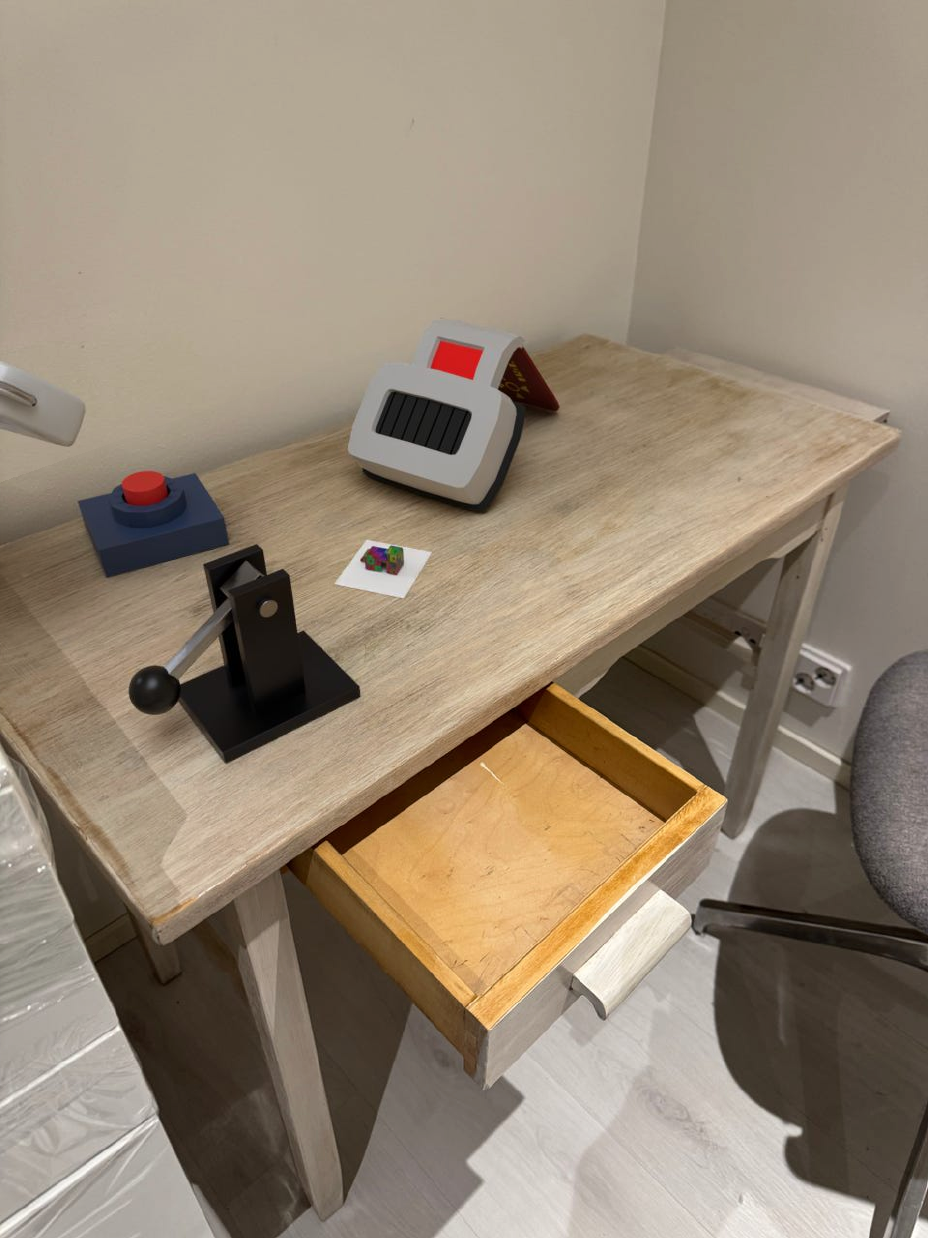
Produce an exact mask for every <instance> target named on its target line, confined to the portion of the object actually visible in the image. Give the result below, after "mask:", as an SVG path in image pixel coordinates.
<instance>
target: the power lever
mask: <svg viewBox="0 0 928 1238" xmlns="http://www.w3.org/2000/svg"><path fill="white" fill-rule="evenodd" d="M263 576H264V575H263V574H262V573H261V572H259V571H258V570H257V569H256V568H255V567H253V566H252V565H251V564H250V563H249V562H247V561H245V562H244V563H243V564H242V565H241V566H240V567H239V568H238V569H237V570H236V571H235V573H234V574H233V575H232V576H231V577H230V578H229V579H228V580H227V581H226V582H225V583H224V584H223V585H222V586H221V587H220V589H221V590H222V591H223V592H224V593H225V594H226V596H227V597H228V598H227V599H226V600H225V602H224V603H223V604H222V605H221V606H220V607H219V608H218V609H217V610H216V611H215V612H214V613H213V612H212V614H211V615H210V617H209V618H207V619H206V621H205V622H204V623H203V624H202V625H201V626H200V627H199V628H198V629H197V630H196V631H195V632H194V633H193V635H192V636H191V637H189V639H188V640H187V641H186V642H185V643H184V644H183V645H182V646H181V647H180V649H178V650H177V652H176V653H175V654H174V655H173V656H172V657H171V658H170V659H169V660H168V661H167V663H165V664H164V665H156V664H155V665H148V666H145V667H142V668H141V669H140V670H138V671H137V672H135V674H134V675H133V676H132V678H131V679H130V682H129V685H128V697H129V700H130V703H131V704H132V705H133V707H134V708H135V709H136V710H138V711H139V712H141V713H143V714H145V715H149V716H158V715H163V714H165V713H168V712H169V711H171V710H172V709H174V708H175V707H176V705H177V704H178V702H179V701H178V700H179V697H180V694H181V686H180V684H181V682H180V678H181V677H182V676H183V675H184V674H185V673H186V672H187V671H188V670H189V669H190V667H192V665H193V664H194V663H196V661H197V660H198V659H199V658H200V657H201V656H202V655H203V654H204V653H205V652H206V650H207V649H208V648H209V647H210V646H211V645H212V644H213V643H214V642H215V641H216V640H217V639H218V638H219V637H218V636H219V635H220V634H221V633H222V632H223V631H224V630H225V629H226V628H227V627H228V626H229V625H230V623H231V622H232V621H233V620H234V619H233V614H232V609H231V604H230V599H229V594H228V590H230V589H233V588H235V587H238V586H240V585H243V584H245V583H248V582H250V581H253V580H255V579H258V578H260V577H263Z"/></svg>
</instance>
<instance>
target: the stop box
mask: <svg viewBox="0 0 928 1238" xmlns="http://www.w3.org/2000/svg"><path fill="white" fill-rule="evenodd" d="M163 476H164V478H165V483H166V487H167V492H168V495H167V497H166V498H165V499H163V500H162V501H160V502H158V503H155V504H151V505H147V506H133V505H130V504H128V503H127V502H126V499H125V495H124V492H123V488H122V483H121V484H119V485H117V486H116V487H114V488H113V489H112V491H111V492H110V493H106V494H105V493H104V494H101V495H97V496H93V497H89V498H84V499H79V500H77V504H78V508H79V510H80V513H81V517H82V520H83V523H84V527H85V529H86V532H87V534H88V536H89V539H90V542H91V544H92V546H93V548H94V551H95V554H96V556H97V558H98V560H99V563H100V565H101V568H102V570H103V573H104V575H105V577H106V578H111V577H114V576H118V575H122V574H126V573H129V572H133V571H136V570H140V569H144V568H147V567H151V566H155V565H158V564H163V563H166V562H169V561H173V560H177V559H181V558H184V557H188V556H192V555H195V554H199V553H202V552H207V551H210V550H213V549H217V548H221V547H224V546H225V547H226V546H228V545H230V541H229V536H228V531H227V526H226V520H225V517H224V515H223V514H222V512H221V510H220V508H219V507H218V506H217V505H216V503H215V501H214V499H213V498H212V496H211V495H210V493H209V492H208V491H207V489H206V487H205V486H204V484H203V482H202V481H201V480H200V478H199V476H198V475H197V473H195V472H193V473H190V474H186V475H181V476H178V477H173V478H172V477H170V476H165V475H163Z"/></svg>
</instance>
